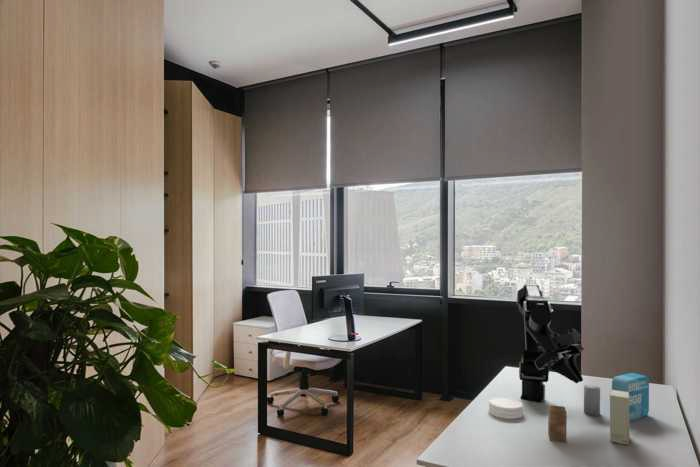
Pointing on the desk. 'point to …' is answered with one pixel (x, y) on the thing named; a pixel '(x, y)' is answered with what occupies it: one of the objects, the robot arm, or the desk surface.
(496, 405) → the coaster
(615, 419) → the skincare box
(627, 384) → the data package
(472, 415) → the desk surface
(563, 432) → the walnut block
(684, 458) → the desk surface
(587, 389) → the grey cylinder
